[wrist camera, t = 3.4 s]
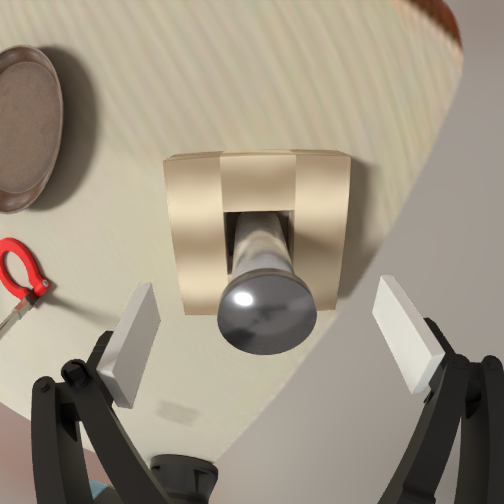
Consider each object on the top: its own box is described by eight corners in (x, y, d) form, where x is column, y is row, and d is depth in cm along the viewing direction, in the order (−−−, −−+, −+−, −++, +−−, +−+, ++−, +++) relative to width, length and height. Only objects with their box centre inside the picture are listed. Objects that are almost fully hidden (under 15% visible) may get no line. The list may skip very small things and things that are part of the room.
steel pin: (286, 252, 28) (311, 352, 16) (230, 254, 28) (222, 356, 16) (287, 199, 26) (321, 276, 14) (227, 200, 26) (212, 280, 14)
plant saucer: (-30, 84, 17) (-46, 86, 15) (75, 22, 17) (59, 15, 14) (-12, 215, 25) (-27, 224, 22) (92, 189, 25) (76, 199, 22)
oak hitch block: (326, 289, 30) (335, 309, 27) (190, 294, 30) (185, 315, 27) (337, 150, 24) (350, 156, 21) (173, 154, 24) (162, 161, 21)
